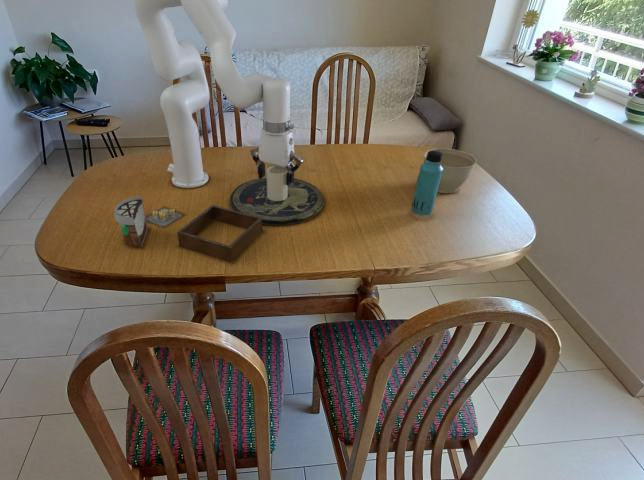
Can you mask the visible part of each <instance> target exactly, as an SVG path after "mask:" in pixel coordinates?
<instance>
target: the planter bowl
mask: <svg viewBox="0 0 644 480" xmlns="http://www.w3.org/2000/svg"><path fill="white" fill-rule="evenodd" d="M432 150H434V151H439V152H441V153H442V160H441V162H438V163H439V164H440V165H441V166H442V167H443V171H442V175H441V179H440V183H439V186H438V190H437V193H440V194H453V193H456V192H458V190H459V188H460V187H461V186H462V185H464V184H465V183H466V182H467V181H468V179H469V178H470V177H471V175H472V173H473V171H474V168H475V166H476V164H477V159H476V157H475V156H474V155H472V154H470V153H468V152H465V151H462V150H459V149H453V148H432V149H430V150H427V151H426V152H424V155H423V163H425V162H427V161H428V160H426V157H427V154H428V152H429V151H432Z"/></svg>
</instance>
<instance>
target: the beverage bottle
mask: <svg viewBox="0 0 644 480" xmlns="http://www.w3.org/2000/svg"><path fill="white" fill-rule="evenodd" d="M431 150H432V151H429V150H428V151H429V152H428V154H427V157H426V160H428V161H427V162H425V163H424V162H423V163H422V164H420V167H419V172H418V175H417V179H416V184H415V189H414V194H413V198H412V202H411V211H412V213H414V214H415V215H418V216H430V215H432V213H433V211H434V207H435V203H436V199H437V195H438V192H437V190H438V186H439V183H440V179H441V175H442V171H443V167H442V166H441V165H440V164H439V163H438V162H441V160H442V153H441V152H439V151H434V150H433V149H431Z"/></svg>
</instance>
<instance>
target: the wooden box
mask: <svg viewBox="0 0 644 480" xmlns="http://www.w3.org/2000/svg"><path fill="white" fill-rule="evenodd" d="M214 221H217V222H221V223H225V224H228V225H233V226H236V227H238V228H239V227H240V228H243V229H245V230H244V231H243V232H242V233H241V234H240V235H239V236H238V237H237V238H236V239H235V240H233V242H232V243H231V244H229V245H228V244H225V243H222V242H218V241H214V240H211V239H208V238H204V237H201V236H197V235H198V234H199V233H200V232H202V231H203V230H204V229H205V228H207V227H209V225H210V224H211V223H212V222H214ZM263 231H264V230H263V224H262V218H261V217H257V216H253V215H250V214H246V213H242V212H238V211H234V210H233V209H230V208H226V207H222V206H218V205H214V204H212V205H210V206H209V207H207V208H206V209H204V211H202V212H201V213H200V214H198V215H197V216H196V217H194V219H192V220H191V221H189V222H188V223H186V225H184V226H183V227H182V228H180V229H179V230H178V231H176V234H177V240H178V245H179V246H178V247H181V248H185V249H188V250H190V251H194V252H197V253H200V254H203V255H206V256H211V257H213V258H216V259H219V260H223V261H226V262H228V263H233V262H234V261H235V260H236V259H237V258H238V257H240V255H241V254H242V253H243V252H244V251H245V250H246V248H248V247H249V246H250V245H251V243H253V242H254V241H255V240H256V239H257V238H258V236H260V234H262V233H263Z"/></svg>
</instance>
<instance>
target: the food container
mask: <svg viewBox="0 0 644 480" xmlns="http://www.w3.org/2000/svg"><path fill="white" fill-rule="evenodd" d="M146 218H147V217H146V212H145V207H144V199H143V197H142V196H141V195H139V196H133V197H129V198H126V199H124V200H122V201H120V202H119V203H118V204H116V206H115V207H114V220H115V221H116V222H117V223H119V226H120V229H121V232H122V234H123V237H124V240H125V242H126V244H127V245H128V246H130V247H132V248H139V249H140V248H143V245H144V241H145V238H146V236H147V233H148V230H149V229H148V222H147V220H146Z"/></svg>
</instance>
